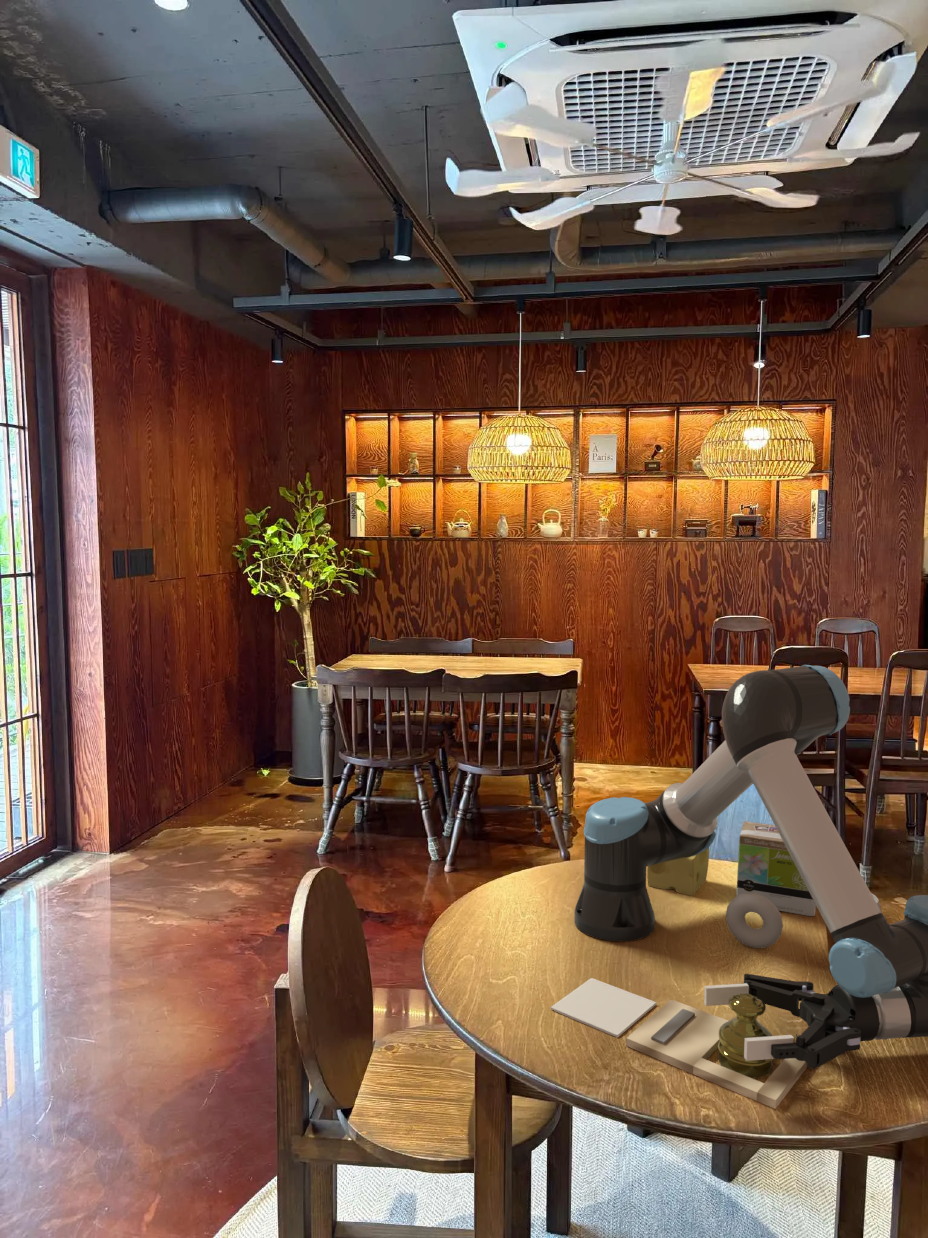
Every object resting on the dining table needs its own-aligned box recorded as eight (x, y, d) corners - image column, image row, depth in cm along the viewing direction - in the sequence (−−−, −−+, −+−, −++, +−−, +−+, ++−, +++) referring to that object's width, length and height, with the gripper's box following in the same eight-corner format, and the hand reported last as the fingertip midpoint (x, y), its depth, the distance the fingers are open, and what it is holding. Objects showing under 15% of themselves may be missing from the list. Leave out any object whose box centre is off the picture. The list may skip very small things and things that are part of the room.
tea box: (735, 906, 177) (737, 834, 175) (740, 887, 186) (742, 819, 184) (816, 918, 171) (819, 844, 169) (816, 898, 180) (819, 828, 179)
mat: (550, 1009, 138) (550, 1007, 138) (591, 980, 147) (591, 978, 147) (617, 1038, 130) (617, 1035, 130) (656, 1004, 140) (656, 1002, 140)
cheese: (694, 897, 181) (695, 850, 180) (644, 886, 187) (644, 840, 186) (709, 880, 190) (710, 835, 189) (660, 870, 195) (661, 826, 194)
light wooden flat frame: (625, 1046, 128) (626, 1035, 128) (670, 1006, 139) (670, 997, 139) (775, 1109, 114) (775, 1097, 114) (812, 1060, 125) (812, 1049, 125)
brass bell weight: (707, 1053, 127) (709, 986, 126) (753, 1045, 129) (755, 980, 128) (735, 1084, 120) (738, 1013, 119) (783, 1075, 121) (786, 1006, 120)
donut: (722, 944, 160) (724, 891, 159) (727, 937, 163) (729, 884, 162) (779, 958, 155) (781, 903, 154) (783, 950, 158) (785, 896, 157)
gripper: (920, 1091, 114) (764, 1103, 111) (820, 991, 138) (690, 1000, 136) (923, 1036, 113) (766, 1047, 110) (822, 945, 138) (691, 953, 135)
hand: (724, 1021), depth 123 cm, fingers open, 13 cm apart
